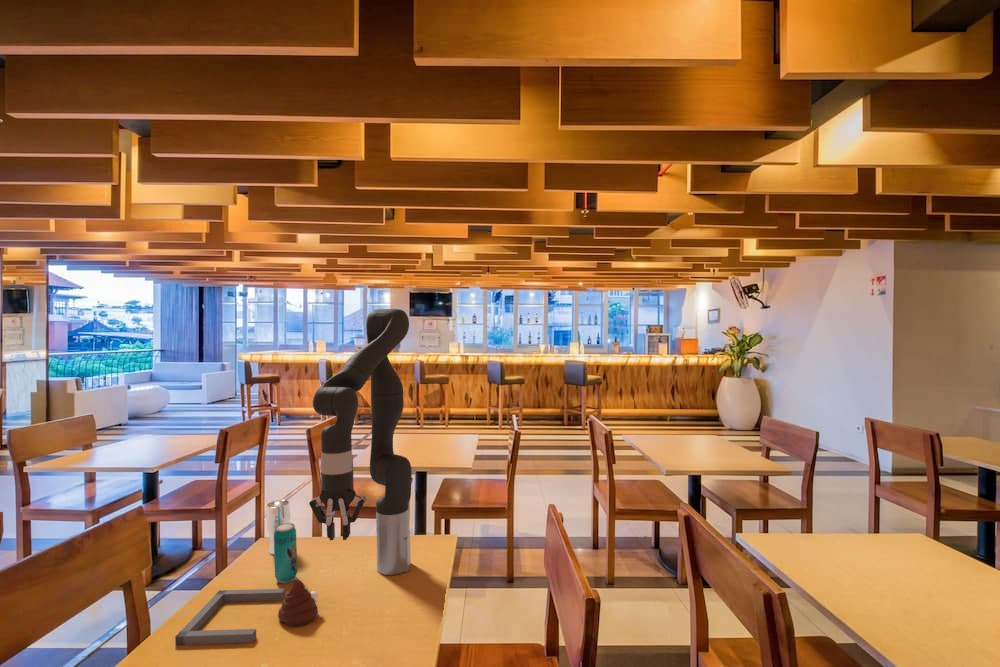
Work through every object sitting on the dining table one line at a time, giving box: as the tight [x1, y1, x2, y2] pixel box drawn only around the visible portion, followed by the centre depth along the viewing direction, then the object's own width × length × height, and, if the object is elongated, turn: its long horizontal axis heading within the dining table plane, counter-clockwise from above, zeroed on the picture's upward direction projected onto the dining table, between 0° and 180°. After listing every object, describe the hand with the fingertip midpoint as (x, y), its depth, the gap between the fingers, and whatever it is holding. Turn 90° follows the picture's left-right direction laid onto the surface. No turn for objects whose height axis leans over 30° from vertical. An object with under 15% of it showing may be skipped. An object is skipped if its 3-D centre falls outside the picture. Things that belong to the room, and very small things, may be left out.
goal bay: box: [174, 588, 286, 646], centre depth 129 cm, size 17×20×2 cm
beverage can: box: [274, 522, 298, 584], centre depth 148 cm, size 6×6×15 cm
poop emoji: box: [277, 578, 319, 628], centre depth 129 cm, size 10×8×9 cm
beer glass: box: [265, 499, 291, 555], centre depth 167 cm, size 7×7×15 cm
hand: (338, 538), depth 130 cm, fingers closed
